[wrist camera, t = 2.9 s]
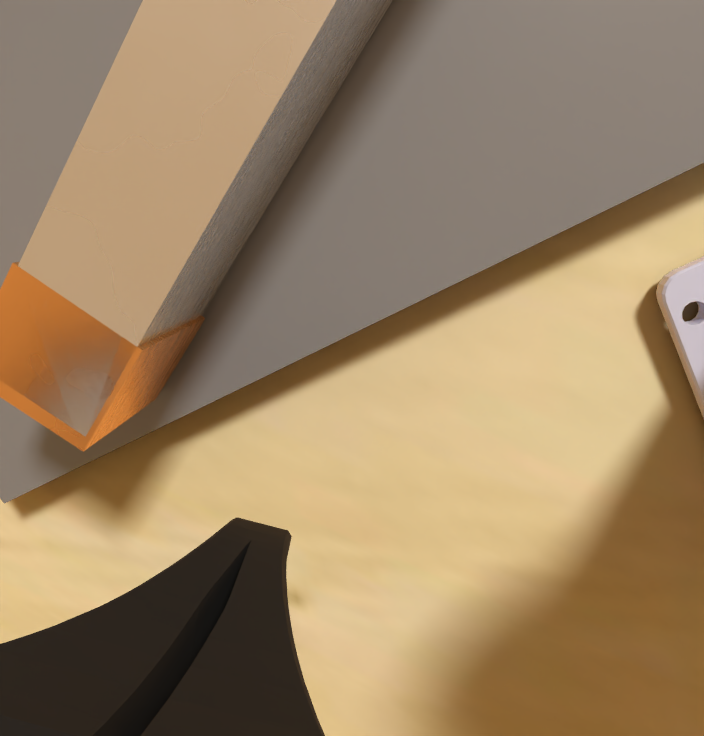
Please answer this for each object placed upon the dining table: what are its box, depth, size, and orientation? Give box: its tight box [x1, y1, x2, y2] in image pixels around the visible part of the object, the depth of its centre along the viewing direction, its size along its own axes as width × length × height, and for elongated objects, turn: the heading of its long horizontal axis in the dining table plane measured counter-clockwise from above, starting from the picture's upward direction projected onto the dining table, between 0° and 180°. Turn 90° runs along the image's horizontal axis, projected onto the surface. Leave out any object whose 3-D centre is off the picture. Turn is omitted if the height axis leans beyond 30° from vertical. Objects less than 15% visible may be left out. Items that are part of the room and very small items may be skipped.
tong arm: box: [0, 0, 393, 452], centre depth 9 cm, size 16×3×3 cm, turn 145°
